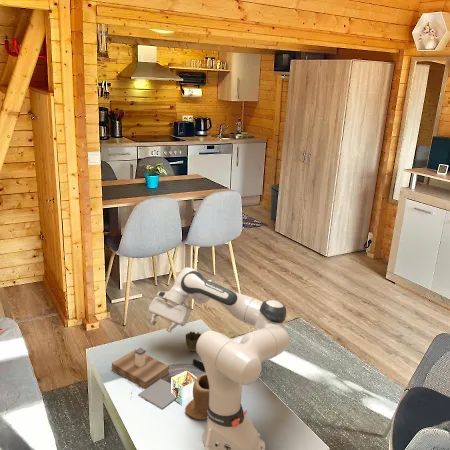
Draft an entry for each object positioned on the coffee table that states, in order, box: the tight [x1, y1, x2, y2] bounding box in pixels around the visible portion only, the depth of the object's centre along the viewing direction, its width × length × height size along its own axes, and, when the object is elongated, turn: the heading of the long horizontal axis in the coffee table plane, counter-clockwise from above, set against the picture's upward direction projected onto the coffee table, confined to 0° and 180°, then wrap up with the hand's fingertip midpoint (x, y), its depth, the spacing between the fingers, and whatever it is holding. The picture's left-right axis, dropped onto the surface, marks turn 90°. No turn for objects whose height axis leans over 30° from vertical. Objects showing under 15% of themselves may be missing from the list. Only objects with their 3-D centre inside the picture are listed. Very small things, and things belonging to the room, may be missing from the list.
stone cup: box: [184, 373, 209, 420], centre depth 174 cm, size 15×12×15 cm
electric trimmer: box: [192, 358, 206, 372], centre depth 200 cm, size 4×16×3 cm, turn 54°
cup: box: [185, 331, 202, 353], centre depth 213 cm, size 8×7×8 cm
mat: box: [137, 378, 178, 410], centre depth 184 cm, size 13×13×1 cm
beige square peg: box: [134, 347, 147, 368], centre depth 195 cm, size 3×3×10 cm
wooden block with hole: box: [111, 349, 170, 390], centre depth 196 cm, size 20×14×4 cm
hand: (160, 327), depth 202 cm, fingers open, 8 cm apart
